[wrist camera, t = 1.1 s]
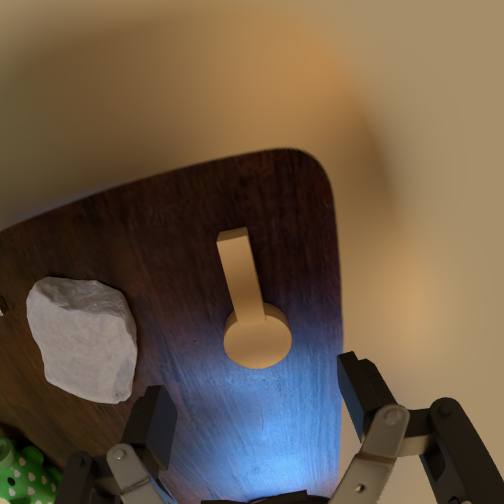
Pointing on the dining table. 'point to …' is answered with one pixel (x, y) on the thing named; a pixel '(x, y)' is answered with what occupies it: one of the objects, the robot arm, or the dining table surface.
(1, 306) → the fork
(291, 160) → the dining table surface
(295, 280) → the dining table surface
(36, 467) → the piggy bank
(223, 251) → the wooden round paddle
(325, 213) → the dining table surface
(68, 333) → the stone block
